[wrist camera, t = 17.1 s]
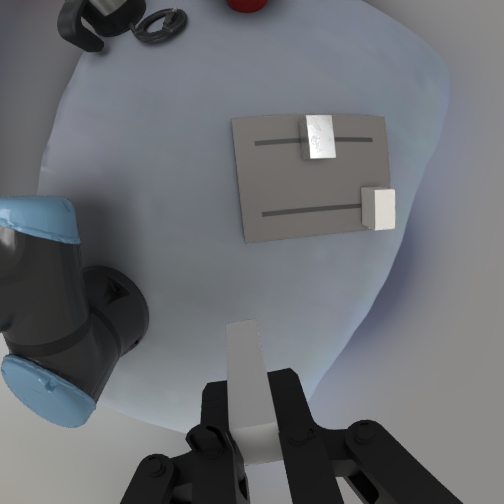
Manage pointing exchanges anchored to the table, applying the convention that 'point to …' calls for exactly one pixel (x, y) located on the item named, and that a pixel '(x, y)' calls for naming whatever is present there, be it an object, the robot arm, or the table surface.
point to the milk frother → (112, 21)
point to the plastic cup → (247, 5)
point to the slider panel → (306, 175)
